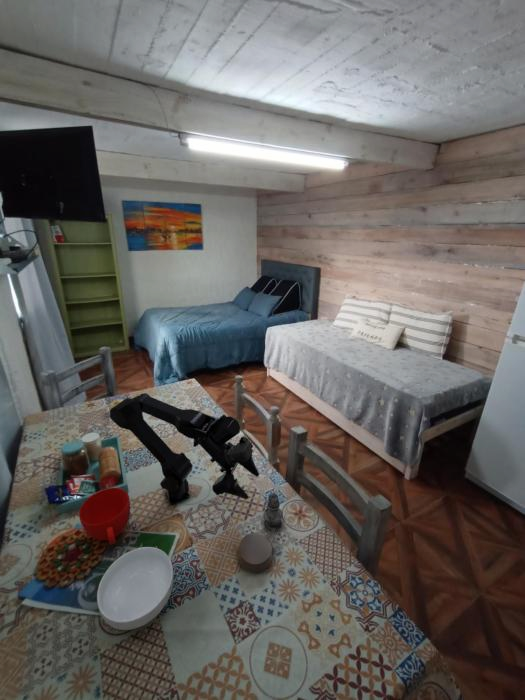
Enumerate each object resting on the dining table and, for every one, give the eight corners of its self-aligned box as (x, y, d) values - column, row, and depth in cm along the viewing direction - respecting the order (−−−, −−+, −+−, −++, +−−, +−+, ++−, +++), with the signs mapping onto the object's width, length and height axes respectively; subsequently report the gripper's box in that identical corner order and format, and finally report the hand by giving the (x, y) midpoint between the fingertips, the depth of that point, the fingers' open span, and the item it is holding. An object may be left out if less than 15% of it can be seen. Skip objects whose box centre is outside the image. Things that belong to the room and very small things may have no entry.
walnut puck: (249, 580, 80) (249, 571, 79) (233, 551, 87) (232, 542, 86) (278, 561, 85) (278, 552, 84) (260, 535, 92) (260, 527, 91)
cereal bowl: (177, 627, 71) (174, 607, 68) (96, 654, 66) (89, 633, 64) (174, 556, 86) (171, 538, 83) (108, 574, 82) (103, 555, 79)
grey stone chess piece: (281, 533, 93) (282, 502, 88) (261, 529, 94) (261, 499, 89) (284, 516, 98) (285, 486, 94) (265, 513, 99) (265, 483, 95)
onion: (107, 411, 153) (105, 398, 151) (124, 405, 158) (122, 393, 156) (113, 418, 148) (110, 405, 145) (130, 412, 153) (128, 399, 150)
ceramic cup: (89, 572, 82) (81, 545, 78) (84, 524, 95) (77, 499, 92) (141, 547, 88) (136, 521, 85) (129, 505, 102) (124, 481, 98)
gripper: (220, 457, 80) (261, 501, 81) (246, 418, 97) (280, 454, 98) (195, 474, 86) (234, 515, 86) (224, 434, 102) (256, 469, 103)
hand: (253, 486), depth 93 cm, fingers open, 9 cm apart
